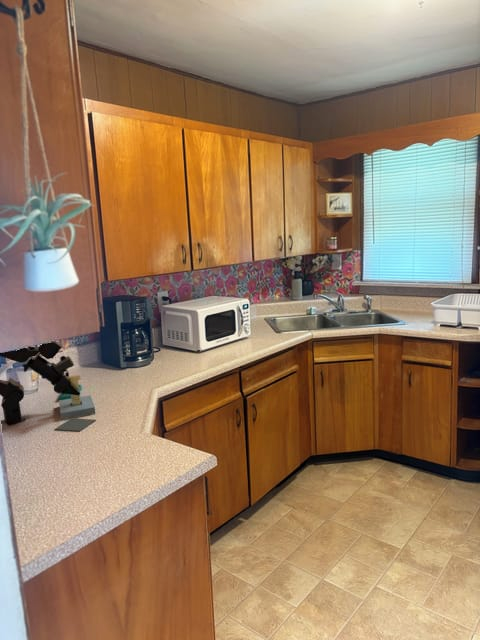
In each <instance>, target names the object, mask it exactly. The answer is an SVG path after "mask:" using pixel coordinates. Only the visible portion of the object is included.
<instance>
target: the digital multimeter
mask: <svg viewBox="0 0 480 640" xmlns="http://www.w3.org/2000/svg"><path fill="white" fill-rule="evenodd" d="M78 385H79V392H80V391H82V390H81V389H83V386H82V385H81V384H78ZM80 393H81V392H80ZM65 399H71V394H65V393H59V396H58V401H59V400H65Z"/></svg>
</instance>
